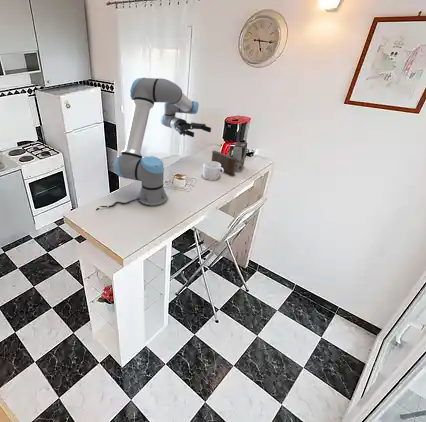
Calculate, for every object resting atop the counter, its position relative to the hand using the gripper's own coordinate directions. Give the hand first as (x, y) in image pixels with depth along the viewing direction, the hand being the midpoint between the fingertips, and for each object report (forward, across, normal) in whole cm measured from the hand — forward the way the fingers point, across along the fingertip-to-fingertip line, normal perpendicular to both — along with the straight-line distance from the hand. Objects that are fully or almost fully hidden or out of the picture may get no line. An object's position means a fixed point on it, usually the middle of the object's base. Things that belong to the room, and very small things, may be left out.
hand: (202, 132), depth 173 cm
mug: (+11, -1, -26) cm, 28 cm away
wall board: (+8, -12, -25) cm, 29 cm away
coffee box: (+12, -22, -26) cm, 36 cm away
